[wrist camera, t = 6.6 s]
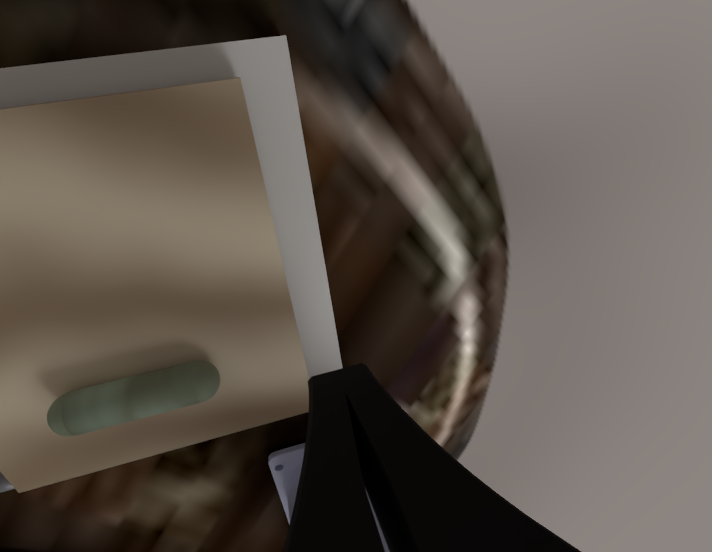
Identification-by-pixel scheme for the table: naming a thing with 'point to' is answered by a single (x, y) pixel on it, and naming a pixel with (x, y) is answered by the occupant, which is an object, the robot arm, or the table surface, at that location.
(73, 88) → the light grey square plate
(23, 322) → the board
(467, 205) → the table surface
